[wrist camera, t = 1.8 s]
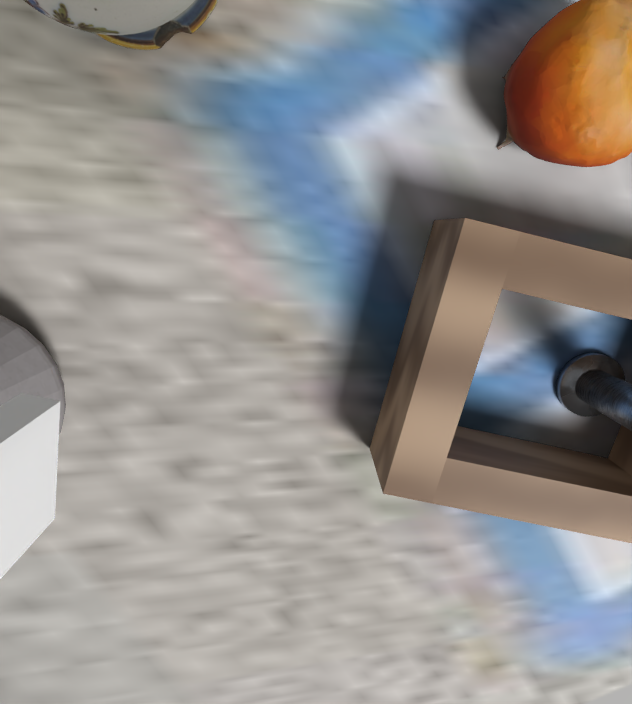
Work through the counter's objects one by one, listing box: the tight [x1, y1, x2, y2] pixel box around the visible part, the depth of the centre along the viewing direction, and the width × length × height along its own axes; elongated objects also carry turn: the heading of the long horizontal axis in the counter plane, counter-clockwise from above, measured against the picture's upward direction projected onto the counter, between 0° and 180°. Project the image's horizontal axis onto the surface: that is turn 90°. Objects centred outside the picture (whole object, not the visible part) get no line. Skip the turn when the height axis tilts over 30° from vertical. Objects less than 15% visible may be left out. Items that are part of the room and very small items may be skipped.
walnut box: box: [370, 218, 632, 543], centre depth 30 cm, size 16×20×6 cm
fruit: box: [497, 0, 632, 167], centre depth 26 cm, size 8×8×8 cm
